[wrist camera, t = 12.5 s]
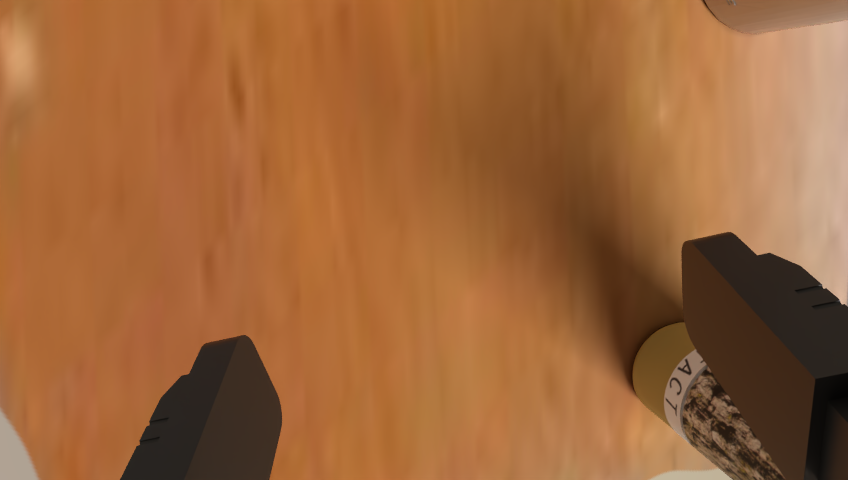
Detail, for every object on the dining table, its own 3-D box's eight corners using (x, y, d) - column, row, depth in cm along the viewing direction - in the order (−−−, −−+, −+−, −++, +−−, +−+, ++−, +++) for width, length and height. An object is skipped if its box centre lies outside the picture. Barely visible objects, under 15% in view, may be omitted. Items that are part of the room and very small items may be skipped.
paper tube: (730, 360, 42) (1299, 685, 18) (662, 427, 42) (1146, 839, 18) (679, 298, 40) (1247, 575, 16) (608, 368, 40) (1074, 748, 16)
